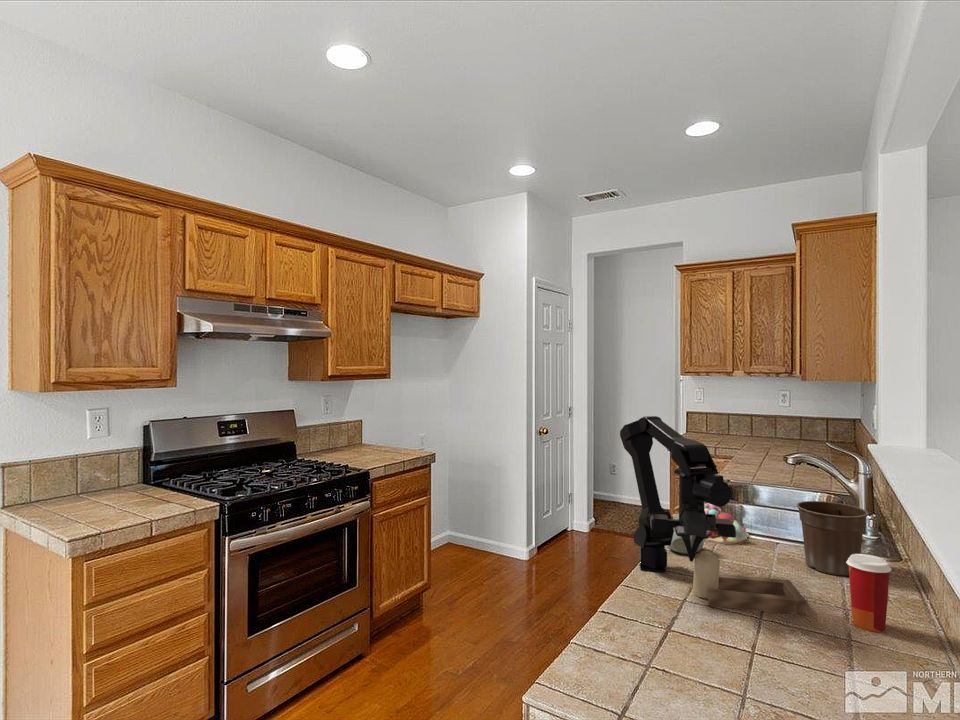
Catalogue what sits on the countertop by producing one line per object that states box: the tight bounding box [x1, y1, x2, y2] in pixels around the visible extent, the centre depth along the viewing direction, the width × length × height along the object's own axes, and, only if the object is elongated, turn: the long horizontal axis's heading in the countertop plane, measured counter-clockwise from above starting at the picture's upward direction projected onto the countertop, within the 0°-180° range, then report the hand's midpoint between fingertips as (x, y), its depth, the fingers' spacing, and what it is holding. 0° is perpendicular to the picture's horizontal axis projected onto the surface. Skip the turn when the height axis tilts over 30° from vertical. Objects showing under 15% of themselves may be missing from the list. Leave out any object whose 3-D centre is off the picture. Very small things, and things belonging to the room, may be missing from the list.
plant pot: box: [796, 500, 869, 576], centre depth 146 cm, size 16×16×16 cm
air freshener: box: [666, 513, 705, 555], centre depth 160 cm, size 11×8×10 cm
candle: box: [692, 550, 721, 600], centre depth 130 cm, size 6×6×10 cm
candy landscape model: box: [671, 502, 750, 545], centre depth 179 cm, size 25×24×9 cm
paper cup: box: [846, 553, 892, 633], centre depth 115 cm, size 8×8×14 cm
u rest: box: [707, 573, 808, 616], centre depth 127 cm, size 20×12×3 cm, turn 76°
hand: (691, 561), depth 130 cm, fingers closed
